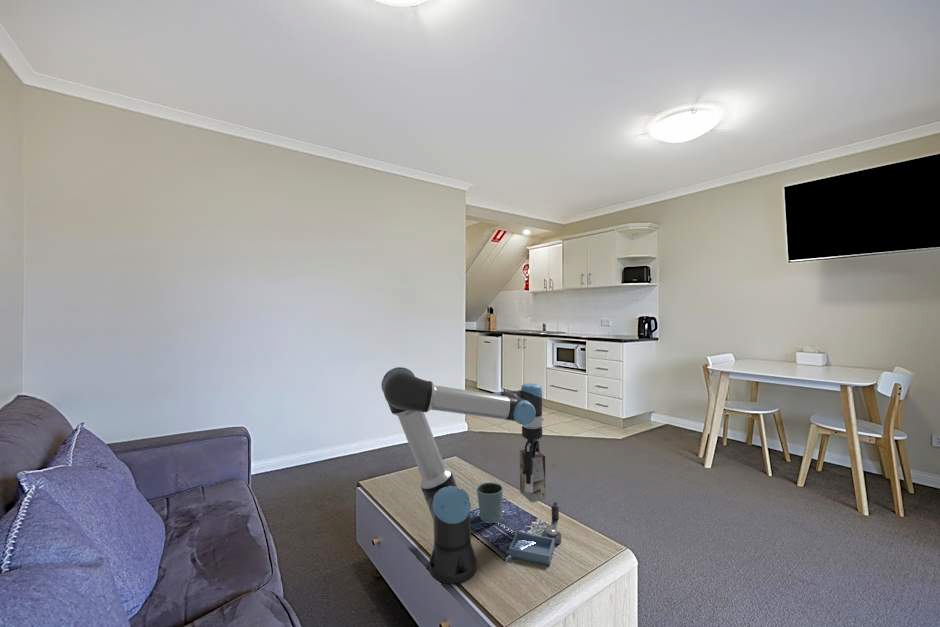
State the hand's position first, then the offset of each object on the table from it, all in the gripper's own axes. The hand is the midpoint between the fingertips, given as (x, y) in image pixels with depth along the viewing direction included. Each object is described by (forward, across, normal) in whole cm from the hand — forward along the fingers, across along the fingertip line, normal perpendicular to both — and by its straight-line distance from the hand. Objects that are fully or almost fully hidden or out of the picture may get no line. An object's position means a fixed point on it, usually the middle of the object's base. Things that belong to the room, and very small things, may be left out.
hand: (532, 485), depth 148 cm
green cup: (+16, +1, +17) cm, 24 cm away
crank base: (+16, -6, -4) cm, 17 cm away
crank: (+13, -2, -8) cm, 16 cm away
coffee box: (+4, 0, 0) cm, 4 cm away
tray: (+16, -15, -3) cm, 22 cm away
